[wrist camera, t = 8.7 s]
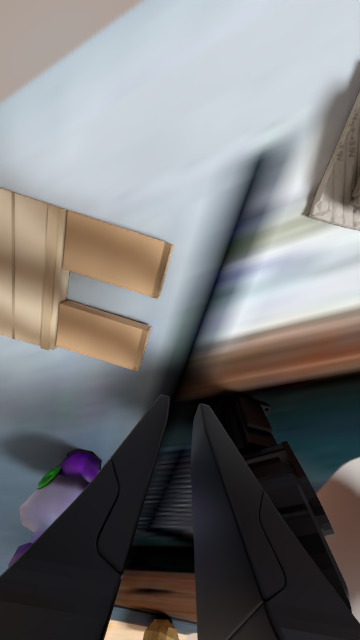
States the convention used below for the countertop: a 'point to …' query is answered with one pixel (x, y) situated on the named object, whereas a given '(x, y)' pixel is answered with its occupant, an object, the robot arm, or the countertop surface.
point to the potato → (161, 631)
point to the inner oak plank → (101, 335)
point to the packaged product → (342, 179)
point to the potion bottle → (57, 493)
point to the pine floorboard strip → (31, 269)
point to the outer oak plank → (115, 255)
